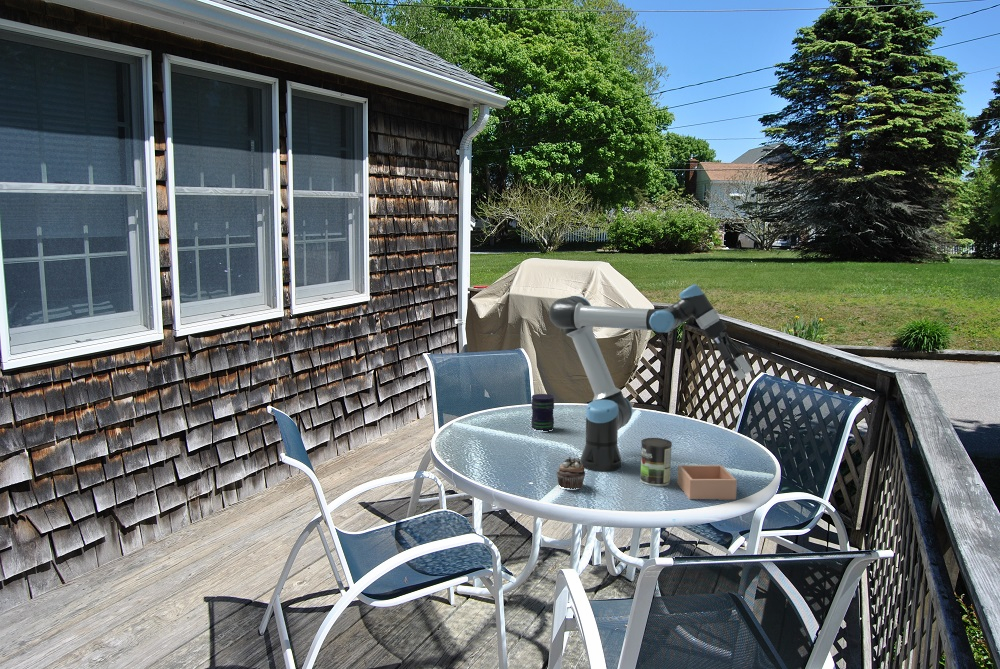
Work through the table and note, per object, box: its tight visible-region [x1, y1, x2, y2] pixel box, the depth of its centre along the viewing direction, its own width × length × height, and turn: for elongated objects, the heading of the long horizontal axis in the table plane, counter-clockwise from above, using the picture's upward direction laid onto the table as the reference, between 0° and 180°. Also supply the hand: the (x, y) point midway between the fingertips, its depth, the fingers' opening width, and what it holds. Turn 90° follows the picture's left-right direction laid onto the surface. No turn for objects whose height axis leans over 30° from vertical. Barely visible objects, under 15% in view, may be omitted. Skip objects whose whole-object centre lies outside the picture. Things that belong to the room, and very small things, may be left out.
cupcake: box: [556, 457, 586, 489], centre depth 239 cm, size 10×10×10 cm
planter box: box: [676, 464, 738, 501], centre depth 235 cm, size 15×15×6 cm
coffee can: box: [639, 437, 673, 487], centre depth 244 cm, size 10×10×14 cm
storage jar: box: [530, 393, 555, 431], centre depth 310 cm, size 10×10×15 cm
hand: (746, 375), depth 247 cm, fingers open, 13 cm apart
